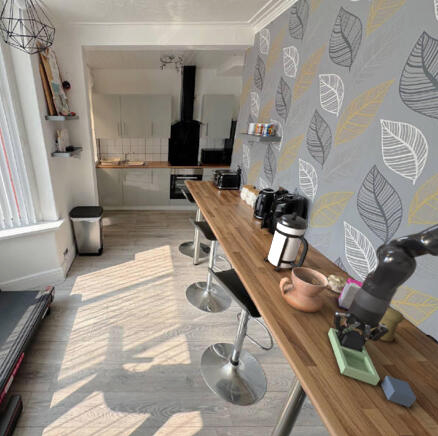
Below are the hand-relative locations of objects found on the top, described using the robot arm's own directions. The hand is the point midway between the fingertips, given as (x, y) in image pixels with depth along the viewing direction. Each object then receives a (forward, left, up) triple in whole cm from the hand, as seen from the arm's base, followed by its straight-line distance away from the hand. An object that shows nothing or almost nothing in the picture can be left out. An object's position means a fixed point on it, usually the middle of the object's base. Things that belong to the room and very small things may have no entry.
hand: (348, 341), depth 79 cm
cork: (-14, -12, -3) cm, 19 cm away
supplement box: (-7, -24, -3) cm, 25 cm away
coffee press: (+16, -44, -3) cm, 47 cm away
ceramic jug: (+12, -17, -3) cm, 21 cm away
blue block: (-8, +13, -3) cm, 15 cm away
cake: (-6, -37, -3) cm, 38 cm away
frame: (0, +4, -3) cm, 5 cm away
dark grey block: (0, 0, 0) cm, 0 cm away
